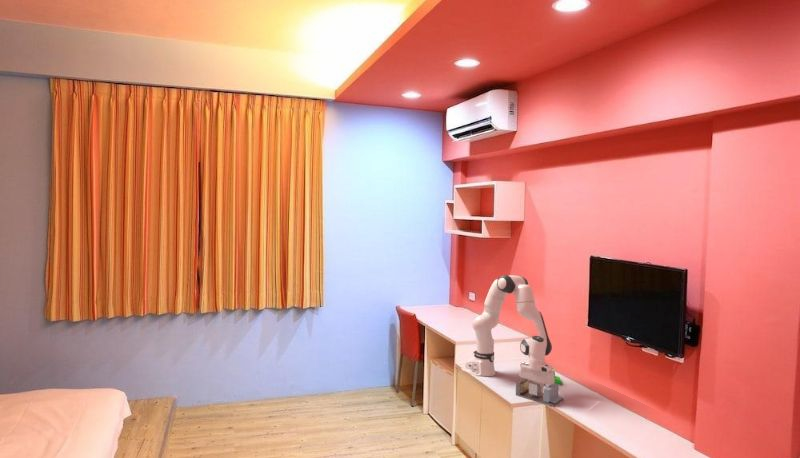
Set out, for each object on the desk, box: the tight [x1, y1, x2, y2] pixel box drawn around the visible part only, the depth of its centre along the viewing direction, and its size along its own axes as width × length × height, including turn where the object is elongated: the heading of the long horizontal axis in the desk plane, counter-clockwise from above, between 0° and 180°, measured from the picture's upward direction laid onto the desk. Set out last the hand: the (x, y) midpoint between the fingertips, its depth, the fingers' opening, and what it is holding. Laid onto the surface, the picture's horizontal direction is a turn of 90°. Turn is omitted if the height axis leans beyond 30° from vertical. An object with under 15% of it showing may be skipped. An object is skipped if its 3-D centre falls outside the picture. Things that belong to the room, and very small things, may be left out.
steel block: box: [529, 381, 544, 396], centre depth 283 cm, size 5×8×6 cm, turn 139°
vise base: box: [515, 378, 564, 408], centre depth 282 cm, size 23×13×8 cm, turn 49°
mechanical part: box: [552, 370, 562, 386], centre depth 310 cm, size 12×6×8 cm, turn 168°
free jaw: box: [543, 383, 563, 403], centre depth 276 cm, size 7×13×7 cm, turn 139°
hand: (536, 388), depth 283 cm, fingers open, 5 cm apart
